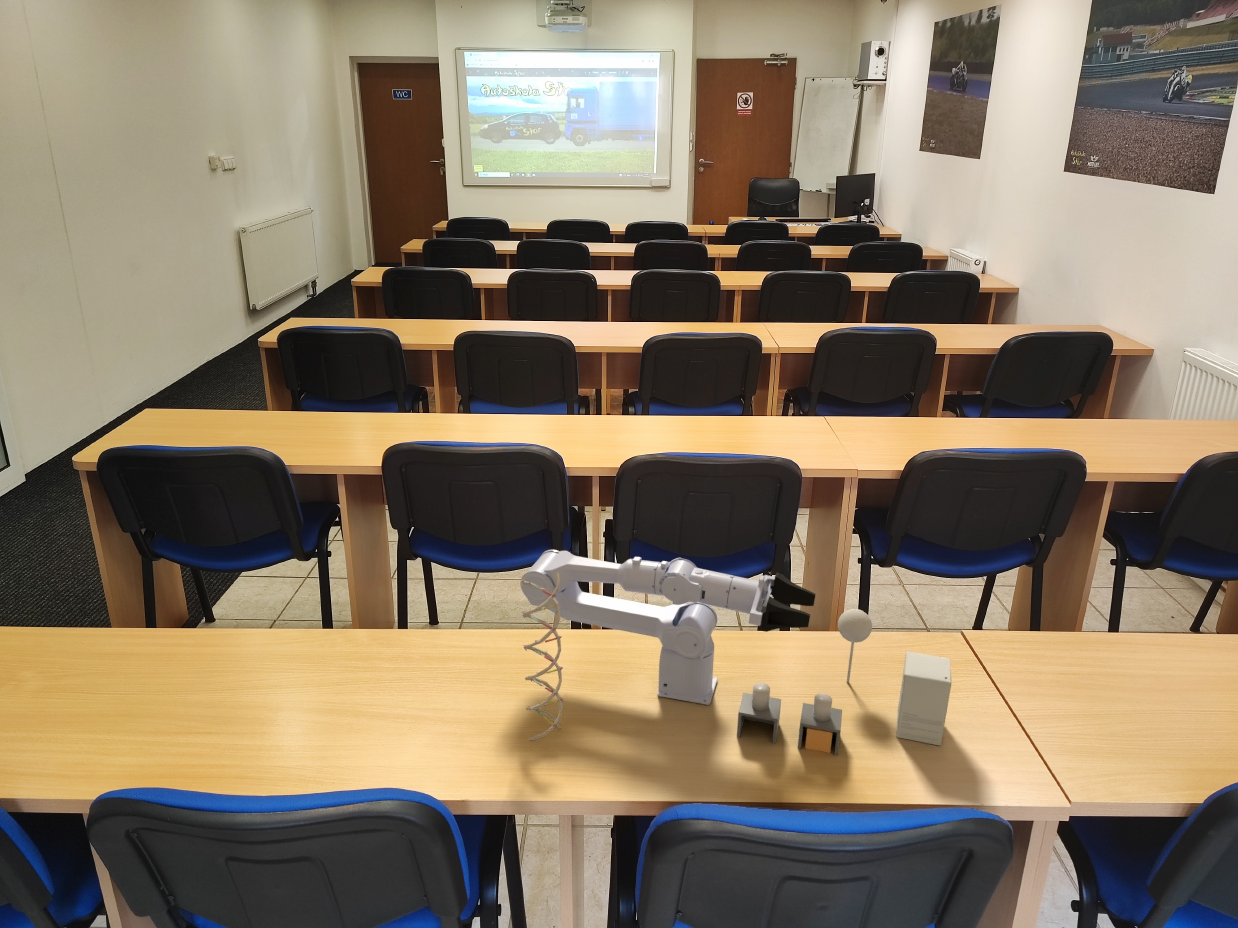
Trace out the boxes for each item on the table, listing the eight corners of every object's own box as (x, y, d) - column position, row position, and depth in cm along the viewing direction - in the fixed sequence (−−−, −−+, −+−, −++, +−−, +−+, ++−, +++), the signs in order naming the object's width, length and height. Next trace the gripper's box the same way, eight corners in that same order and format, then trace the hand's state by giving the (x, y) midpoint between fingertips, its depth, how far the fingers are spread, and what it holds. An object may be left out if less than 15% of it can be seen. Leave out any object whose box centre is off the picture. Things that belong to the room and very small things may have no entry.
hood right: (797, 748, 145) (801, 705, 141) (800, 727, 149) (804, 685, 146) (837, 755, 143) (842, 712, 140) (839, 734, 148) (844, 691, 145)
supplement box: (941, 720, 152) (952, 657, 147) (941, 747, 145) (952, 683, 140) (896, 710, 154) (905, 649, 149) (894, 737, 147) (904, 673, 143)
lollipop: (865, 694, 158) (875, 622, 152) (831, 690, 159) (840, 618, 153) (863, 674, 164) (872, 604, 158) (831, 670, 165) (839, 600, 159)
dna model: (534, 751, 143) (528, 590, 132) (519, 728, 149) (513, 571, 137) (571, 739, 146) (569, 580, 135) (556, 717, 151) (552, 562, 140)
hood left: (736, 736, 147) (739, 694, 144) (741, 716, 152) (744, 675, 149) (775, 743, 145) (779, 701, 142) (779, 723, 150) (782, 681, 147)
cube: (805, 748, 145) (807, 728, 143) (807, 732, 148) (809, 713, 147) (830, 752, 144) (832, 732, 142) (831, 737, 147) (833, 717, 146)
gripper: (725, 590, 142) (810, 608, 138) (742, 554, 155) (820, 570, 151) (720, 628, 144) (803, 647, 140) (737, 589, 157) (814, 606, 153)
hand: (812, 610), depth 146 cm, fingers open, 7 cm apart
